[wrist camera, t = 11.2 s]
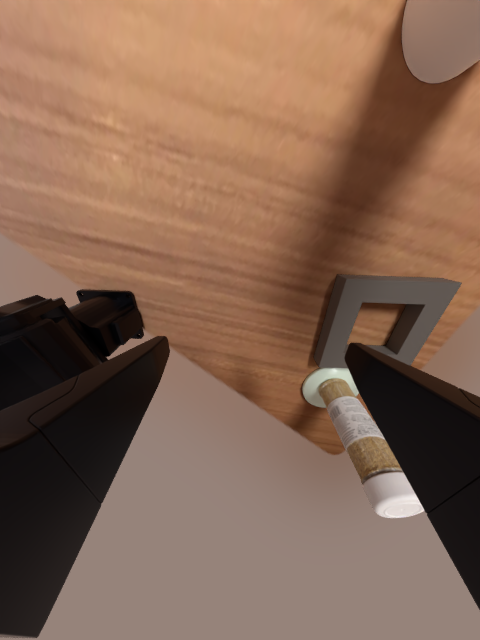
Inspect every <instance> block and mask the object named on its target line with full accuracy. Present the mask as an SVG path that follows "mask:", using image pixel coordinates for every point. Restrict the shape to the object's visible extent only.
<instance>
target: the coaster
mask: <svg viewBox="0 0 480 640" xmlns="http://www.w3.org/2000/svg"><path fill="white" fill-rule="evenodd" d="M333 378H339V379H342V380H345V381H346V382H347V383H348V385H349V387H350V389H351V390H352V392H353V393H354V395H355V396H357V395H358V394H359V392H358V390H357V388H356V385H355V383H354V381H353V379H352V376H351V374H350V372H349V369H348V368H318V369H317V370H315V371H313V372H312V373H311V374H309V375H308V376H307V378H306V379H305V381H304V382H303V385H302V392H303V395H304V397H305V399H306V400H307V401H308V402H309V403H310V404H312V405H314V406H317V407H323V408H327V407H326V405H325V403H324V401H323V399H322V397H321V396H320V395H319V387H320V386H321V384H322V383H323V382H325V381H327V380H329V379H333Z"/></svg>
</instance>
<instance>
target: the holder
mask: <svg viewBox="0 0 480 640" xmlns="http://www.w3.org/2000/svg"><path fill="white" fill-rule="evenodd" d="M461 284H462V283H460V282H456V281H452V280H448V279H444V278H424V277H395V276H367V275H338V274H337V277H336V281H335V284H334V288H333V291H332V295H331V298H330V302H329V305H328V309H327V312H326V316H325V319H324V323H323V326H322V330H321V333H320V337H319V340H318V344H317V347H316V351H315V354H314V360H315V361H316V363H317V365H318V367H320V368H348V367H347V365H346V362H345V359H344V357H345V354H346V351H347V348H348V346H349V345H346V344H347V341H348V339H349V336H350V333H351V331H352V328H353V325H354V323H355V320H356V317H357V315H358V312H359V310H360V307H361V304H362V302H368V303H397V304H407V305H406V307H405V309H404V311H403V313H402V315H401V317H400V319H399V321H398V323H397V325H396V327H395V329H394V331H393V333H392V335H391V337H390V339H389V341H388V343H387V345H386V346H376V345H365V346H368V347H370V348H372V349H374V350H377V351H379V352H381V353H383V354H385V355H388V356H390V357H392V358H394V359H396V360H399V361H401V362H403V363H405V364H407V365H411V364H412V362H413V361H414V359H415V357H416V356H417V354H418V353H419V351H420V349H421V348H422V346H423V345H424V343H425V341H426V340H427V338H428V337H429V335H430V333H431V332H432V330H433V329H434V327H435V325H436V324H437V322H438V321H439V319H440V317H441V316H442V314H443V313H444V311H445V309H446V308H447V306H448V305H449V303H450V301H451V300H452V298H453V297H454V295H455V293H456V292H457V290H458V289H459V287H460V285H461Z"/></svg>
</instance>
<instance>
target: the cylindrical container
mask: <svg viewBox="0 0 480 640" xmlns="http://www.w3.org/2000/svg"><path fill="white" fill-rule="evenodd" d="M402 47H403V55H404V58H405V61H406V64H407V67H408V68H409V70H410V71H411V73H412V74H413V75H414V76H415V77H416V78H418V79H419V80H420V81H423V82H426V83H441V82H444V81H448V80H450V79H452V78H454V77H456V76H458V75H459V74H461V73H462V72H464V71H465V70H466V69H468V68H469V67H471V66H472V65H473V64H475V63H476V62H478V61H479V60H480V0H407V3H406V7H405V11H404V17H403V25H402Z"/></svg>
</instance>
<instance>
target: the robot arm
mask: <svg viewBox="0 0 480 640" xmlns="http://www.w3.org/2000/svg"><path fill="white" fill-rule="evenodd" d="M82 294H83V295H82ZM127 294H128V295H129V296H130V297H129V296H128V295H127ZM77 296H78V298H79V301H80V303H79V304H77V305H75V306H72V307H70V308H68V307H67V306H66V305H65V303H66V302H65V301H64V300H63V298H58V299H55V300H52V299H51V298H50V299H45V298H43V297H41V296H38V295H35V296H32V297H29V298H26V299H22V300H19V301H16V302H13V303H10V304H7V305H4V306H1V307H0V637H13V638H37V637H38V636H39V634H40V632H41V630H42V628H43V626H44V624H45V622H46V620H47V618H48V616H49V614H50V612H51V610H52V608H53V605H54V604H55V601H56V600H57V597H58V595H59V593H60V591H61V589H62V587H63V585H64V583H65V580H66V578H67V576H68V574H69V572H70V570H71V568H72V566H73V564H74V562H75V560H76V557H77V555H78V553H79V551H80V549H81V547H82V545H83V543H84V541H85V539H86V536H87V534H88V532H89V530H90V528H91V526H92V524H93V522H94V520H95V518H96V516H97V513H98V511H99V509H100V507H101V503H102V502H103V500H104V498H105V496H106V494H107V492H108V490H109V488H110V486H111V484H112V481H113V479H114V477H115V475H116V473H117V471H118V469H119V467H120V465H121V463H122V461H123V458H124V456H125V454H126V452H127V450H128V448H129V446H130V444H131V441H132V440H133V437H134V435H135V433H136V431H137V429H138V427H139V425H140V423H141V420H142V418H143V416H144V414H145V412H146V410H147V408H148V406H149V404H150V402H151V400H152V398H153V395H154V393H155V391H156V389H157V387H158V385H159V382H160V380H161V377H162V374H163V372H164V369H165V366H166V363H167V360H168V357H169V353H170V349H169V344H168V339H167V337H166V336H157V337H155V338H153V339H151V340H149V341H146V342H145V343H142V344H140V345H138V346H136V347H134V348H132V349H130V350H128V351H126V352H124V353H122V354H120V355H118V356H116V357H114V358H112V359H110V360H108V359H107V358H106V357H107V356H110V355H111V354H112V353H113V352H114V351H115V350H116V349H117V348H118V347H119V346H120V345H124V344H125V343H126V342H127V341H128V340H129V339H130V338H135V339H141V338H142V337H143V336H144V333H143V329H142V322H141V319H140V315H139V311H138V309H137V306H136V302H135V298H134V295H133V293H132V292H130V291H112V290H83V289H82V290H79V291H77ZM139 334H140V335H139ZM344 359H345V362H346V365H347V367H348V369H349V372H350V374H351V376H352V379H353V381H354V383H355V385H356V388H357V390H358V392H359V393H360V395H361V397H362V399H363V401H364V402H365V404H366V406H367V408H368V410H369V411H370V413H371V415H372V417H373V419H374V420H375V422H376V424H377V426H378V428H379V429H380V431H381V433H382V435H383V437H384V438H385V440H386V442H387V444H388V446H389V447H390V449H391V451H392V453H393V455H394V456H395V458H396V460H397V462H398V464H399V465H400V467H401V469H402V471H403V473H404V474H405V476H406V478H407V480H408V482H409V483H410V485H411V487H412V489H413V491H414V492H415V494H416V496H417V498H418V500H419V501H420V503H421V505H422V507H423V509H424V510H425V512H426V513H427V516H428V518H429V520H430V521H431V523H432V525H433V527H434V528H435V530H436V532H437V534H438V536H439V538H440V539H441V541H442V543H443V545H444V547H445V548H446V550H447V552H448V554H449V556H450V558H451V559H452V561H453V563H454V565H455V567H456V568H457V570H458V572H459V574H460V576H461V577H462V579H463V581H464V583H465V584H466V586H467V588H468V590H469V592H470V594H471V595H472V597H473V599H474V601H475V603H476V604H477V606H478V608H479V610H480V397H478V396H476V395H474V394H471V393H469V392H467V391H464V390H462V389H460V388H457V387H456V386H454V385H451V384H449V383H447V382H445V381H443V380H441V379H438V378H436V377H434V376H432V375H429V374H427V373H425V372H423V371H421V370H418V369H416V368H414V367H412V366H410V365H407V364H405V363H403V362H401V361H399V360H396V359H394V358H392V357H390V356H388V355H385V354H383V353H381V352H379V351H377V350H374V349H372V348H370V347H368V346H365V345H363V344H361V343H350V344H349V346H348V348H347V351H346V354H345V357H344Z"/></svg>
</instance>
